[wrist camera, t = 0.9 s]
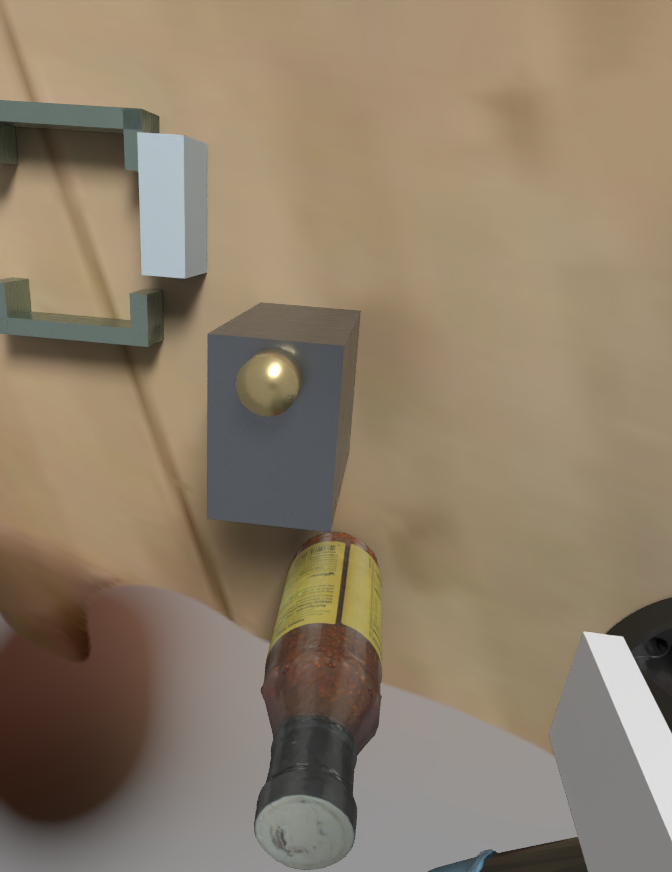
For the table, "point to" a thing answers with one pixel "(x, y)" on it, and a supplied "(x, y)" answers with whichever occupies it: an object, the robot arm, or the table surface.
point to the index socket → (9, 298)
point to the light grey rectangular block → (172, 205)
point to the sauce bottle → (320, 700)
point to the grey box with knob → (280, 414)
